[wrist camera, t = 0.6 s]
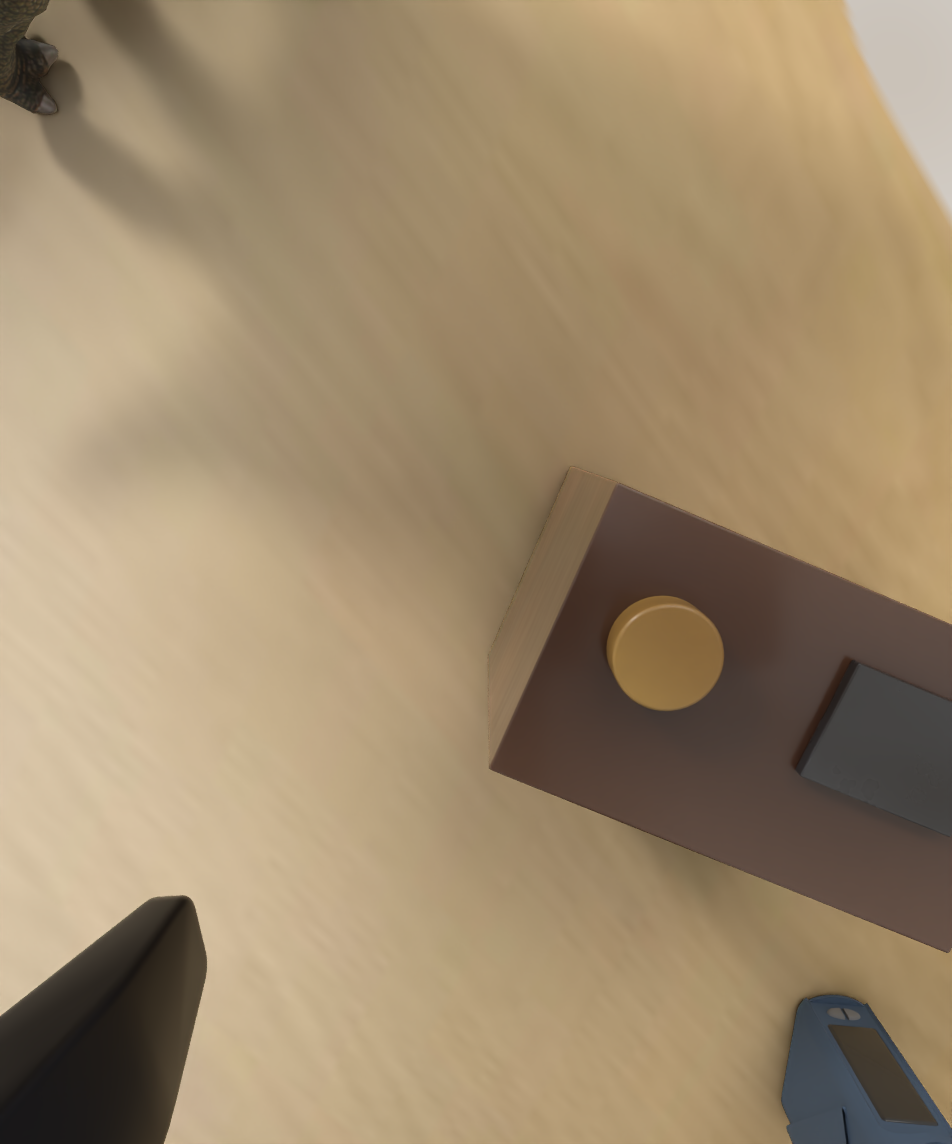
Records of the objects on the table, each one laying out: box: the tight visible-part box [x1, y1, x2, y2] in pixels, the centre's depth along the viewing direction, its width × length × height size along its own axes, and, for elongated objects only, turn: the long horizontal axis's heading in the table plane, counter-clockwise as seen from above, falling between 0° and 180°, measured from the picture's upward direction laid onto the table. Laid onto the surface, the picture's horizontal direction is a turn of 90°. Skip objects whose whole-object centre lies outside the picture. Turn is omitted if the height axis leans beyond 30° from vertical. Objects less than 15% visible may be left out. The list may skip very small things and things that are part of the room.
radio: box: [488, 466, 952, 953], centre depth 19 cm, size 6×10×9 cm, turn 67°
